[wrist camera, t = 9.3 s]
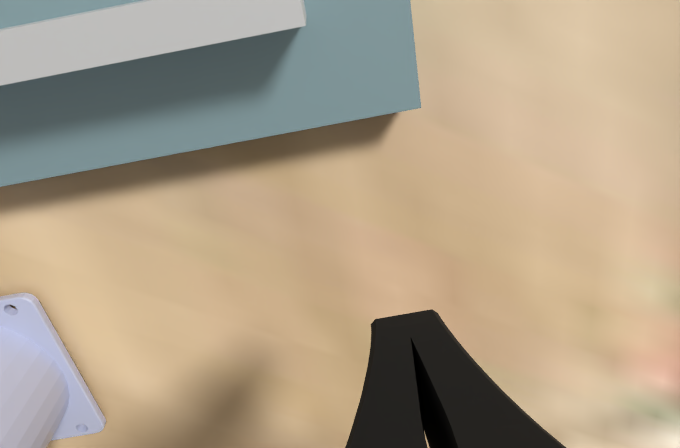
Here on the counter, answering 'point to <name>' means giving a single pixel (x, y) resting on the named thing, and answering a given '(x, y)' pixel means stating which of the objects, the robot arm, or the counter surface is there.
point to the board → (189, 75)
